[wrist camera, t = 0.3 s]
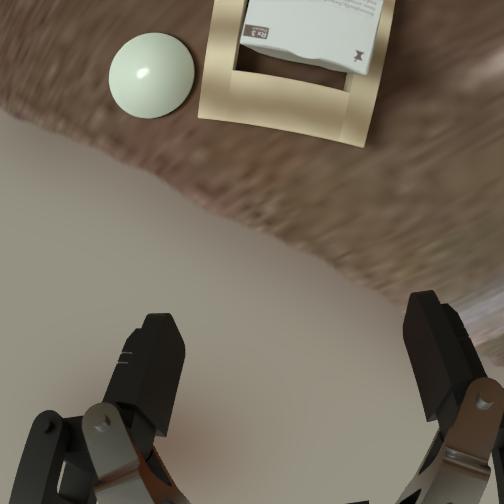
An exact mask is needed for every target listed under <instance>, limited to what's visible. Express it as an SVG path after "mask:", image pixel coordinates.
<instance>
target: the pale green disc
mask: <svg viewBox="0 0 504 504" xmlns="http://www.w3.org/2000/svg"><path fill="white" fill-rule="evenodd" d="M194 77H195V66H194V61H193V58H192V56H191V54H190V52H189V50H188V49H187V47H186V46H185V45H184V44H183V43H182V42H181V41H179V40H178V39H176V38H174V37H172V36H170V35H167V34H162V33H147V34H143V35H140V36H137V37H135V38H133V39H132V40H130V41H129V42H127V43H126V44H125V45H124V46H123V47H122V48H121V49H120V50H119V51H118V53H117V54H116V56H115V58H114V59H113V62H112V64H111V68H110V73H109V85H110V90H111V93H112V95H113V97H114V99H115V101H116V102H117V104H118V105H119V106H120V107H121V108H122V109H123V110H124V111H126V112H127V113H129V114H131V115H133V116H136V117H140V118H156V117H160V116H163V115H165V114H168V113H170V112H171V111H173V110H175V109H176V108H177V107H179V106H180V105H181V104H182V103H183V101H184V100H185V99H186V98H187V96H188V95H189V93H190V91H191V89H192V86H193V83H194Z"/></svg>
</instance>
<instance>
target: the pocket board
mask: <svg viewBox="0 0 504 504" xmlns="http://www.w3.org/2000/svg"><path fill="white" fill-rule="evenodd" d="M247 1H248V0H215V3H214V8H213V14H212V20H211V26H210V32H209V38H208V44H207V51H206V58H205V65H204V72H203V79H202V87H201V95H200V103H199V112H198V118H206V119H214V120H223V121H230V122H238V123H244V124H251V125H257V126H264V127H270V128H275V129H281V130H286V131H292V132H297V133H302V134H307V135H311V136H316V137H321V138H325V139H330V140H334V141H338V142H342V143H347V144H351V145H355V146H358V147H362V148H364V144H365V140H366V137H367V133H368V129H369V125H370V121H371V117H372V113H373V109H374V105H375V101H376V96H377V92H378V88H379V83H380V79H381V74H382V70H383V65H384V60H385V55H386V50H387V45H388V40H389V34H390V29H391V23H392V17H393V11H394V5H395V0H383V6H382V11H381V17H380V22H379V27H378V32H377V36H376V41H375V45H374V50H373V55H372V58H371V62H370V67H369V71H368V74H367V75H359V74H353V73H347V76H346V81H345V85H344V90H339V89H335V88H331V87H327V86H322V85H318V84H314V83H309V82H304V81H300V80H295V79H289V78H284V77H278V76H273V75H267V74H260V73H253V72H246V71H238V70H236V65H237V59H238V52H239V46H240V39H241V34H242V29H243V23H244V17H245V12H246V6H247Z"/></svg>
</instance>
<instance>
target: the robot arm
mask: <svg viewBox="0 0 504 504" xmlns="http://www.w3.org/2000/svg"><path fill="white" fill-rule="evenodd" d="M403 338H404V343H405V346H406V349H407V352H408V355H409V358H410V362H411V365H412V368H413V372H414V375H415V378H416V382H417V385H418V389H419V392H420V396H421V400H422V404H423V408H424V412H425V416H426V419H427V422H430V421H434V420H438V423H439V428H438V431H437V432H436V435H435V437H434V439H433V441H432V443H431V445H430V448H429V449H428V451H427V453H426V455H425V457H424V459H423V461H422V463H421V465H420V467H419V469H418V471H417V472H416V474H415V476H414V477H413V479H412V480H411V482H410V483H409V484H408V485H407V487H406V488H405V490H404V491H403V493H402V494H401V496H400V497H399V499H398V500H397V502H396V503H395V504H479V502H480V499H481V497H482V495H483V492H484V490H485V488H486V485H487V483H488V480H489V477H490V473H491V468H490V467H489V466H488V460H489V457H490V454H491V452H492V457H493V463H494V468H495V475H496V481H497V489H498V497H499V504H504V388H503V387H502V386H501V385H500V384H499V383H498V382H497V381H496V380H494V379H491V378H488V377H487V375H486V373H485V371H484V368H483V366H482V364H481V361H480V359H479V357H478V354H477V352H476V350H475V348H474V346H473V343H472V341H471V339H470V338H469V335H468V333H467V331H466V329H465V328H464V324H463V322H462V320H461V318H460V316H459V315H458V313H457V312H456V311H455V310H454V309H453V308H452V307H451V306H450V305H448V304H447V303H446V304H440V302H439V300H438V298H437V296H436V294H435V292H434V291H433V290H428V291H421V292H414V293H411V294H410V297H409V301H408V306H407V310H406V314H405V319H404V323H403ZM184 359H185V344H184V341H183V339H182V337H181V334H180V332H179V330H178V328H177V326H176V324H175V322H174V319H173V317H172V315H171V314H170V313H153V314H148V315H147V316H146V318H145V320H144V323H143V325H142V328H140V329H138V328H137V329H135V331H134V332H133V333H132V334H131V335H130V336H129V338H127V340H126V342H125V345H124V347H123V350H122V354H121V355H120V357H119V360H118V364H117V365H116V367H115V370H114V372H113V375H112V378H111V380H110V383H109V385H108V388H107V391H106V393H105V396H104V398H103V401H102V402H101V403H98V404H95V405H93V406H91V407H90V408H89V409H88V410H87V411H86V413H85V414H84V415H83V416H77V417H71V418H62V417H61V416H60V415H59V414H58V413H57V412H55V411H53V410H46V411H44V412H42V413H40V414H39V415H38V416H37V417H36V418H35V420H34V422H33V424H32V427H31V430H30V433H29V435H28V438H27V441H26V444H25V448H24V451H23V454H22V457H21V460H20V464H19V467H18V470H17V474H16V477H15V481H14V485H13V489H12V493H11V497H10V501H9V504H96V502H97V501H98V503H99V504H191V503H190V502H189V500H188V499H187V498H186V497H185V496H184V494H183V493H182V492H181V491H180V490H179V489H178V487H177V486H176V484H175V483H174V481H173V479H172V478H171V476H170V474H169V472H168V470H167V469H166V467H165V465H164V463H163V461H162V459H161V457H160V456H159V454H158V452H157V450H156V448H155V446H154V445H153V442H154V438H155V436H161V437H166V436H167V431H168V426H169V422H170V418H171V414H172V409H173V405H174V401H175V396H176V392H177V388H178V384H179V380H180V375H181V372H182V367H183V363H184ZM63 461H65V462H66V465H65V469H64V473H63V477H62V481H61V485H60V490H59V493H57V485H58V480H59V476H60V472H61V468H62V464H63ZM348 504H369V501H362V502H355V503H348Z"/></svg>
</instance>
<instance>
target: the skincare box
mask: <svg viewBox="0 0 504 504" xmlns="http://www.w3.org/2000/svg"><path fill="white" fill-rule="evenodd" d="M382 6H383V0H250V1H249V5H248V9H247V13H246V18H245V22H244V26H243V30H242V35H241V39H240V44H242V45H244V46H246V47H249V48H251V49H253V50H255V51H257V52H258V53H261V54H264V55H268V56H271V57H275V58H279V59H283V60H288V61H293V62H299V63H304V64H309V65H315V66H320V67H323V68H326V69H329V70H335V71H341V72H347V73H353V74H359V75H367V74H368V71H369V67H370V62H371V58H372V55H373V50H374V45H375V41H376V36H377V32H378V27H379V22H380V17H381V11H382Z"/></svg>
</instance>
